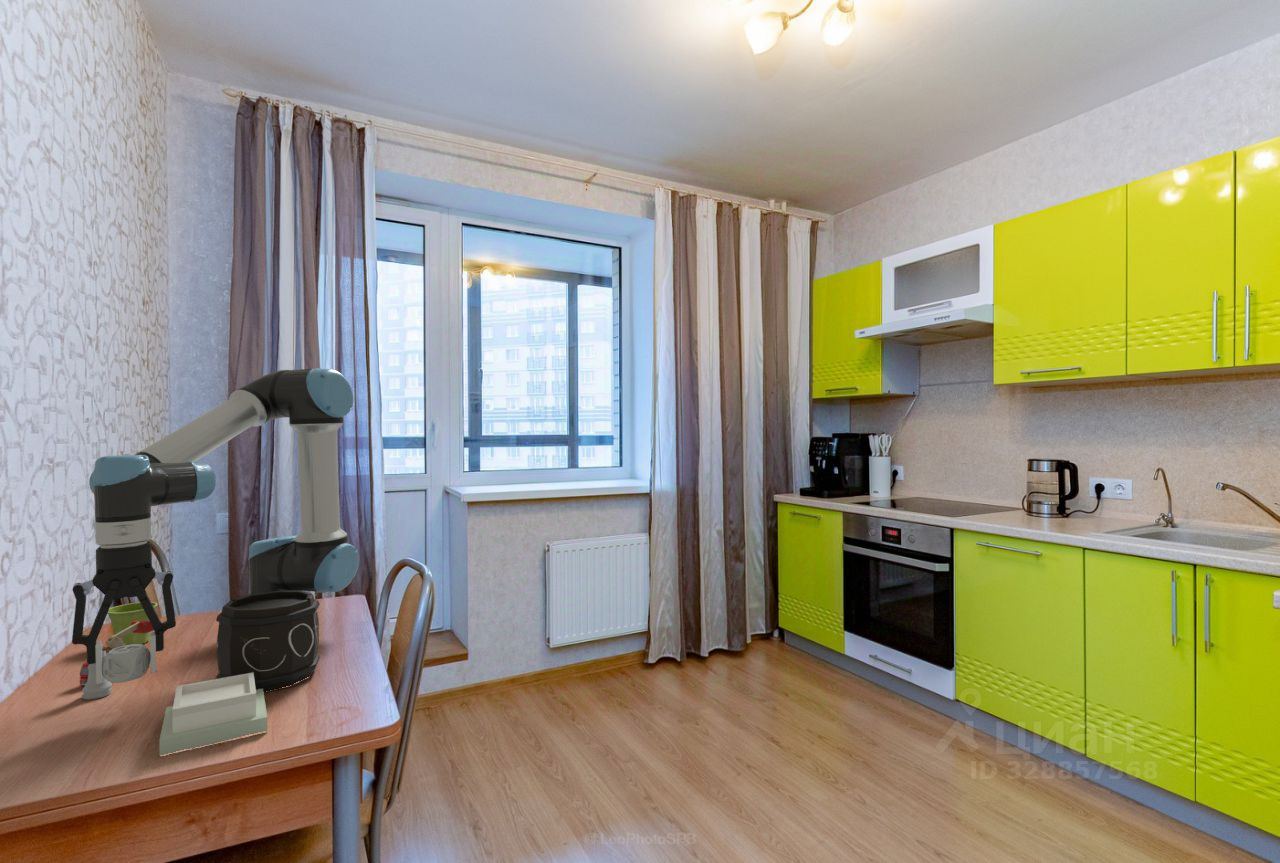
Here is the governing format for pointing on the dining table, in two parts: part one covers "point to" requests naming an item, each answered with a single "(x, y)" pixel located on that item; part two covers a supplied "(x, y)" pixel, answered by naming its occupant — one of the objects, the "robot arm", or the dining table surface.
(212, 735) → the tower base
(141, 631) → the toy fire truck
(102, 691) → the rook chess piece
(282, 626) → the black bucket
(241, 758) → the dining table surface
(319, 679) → the dining table surface
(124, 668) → the die
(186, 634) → the dining table surface
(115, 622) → the plant pot
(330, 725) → the dining table surface
